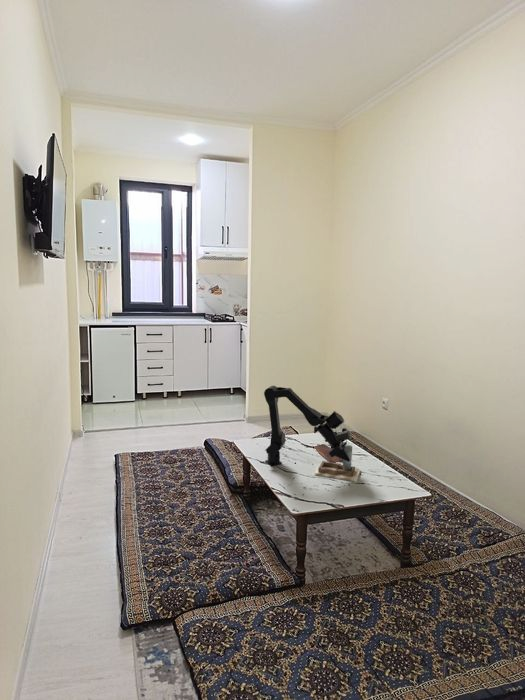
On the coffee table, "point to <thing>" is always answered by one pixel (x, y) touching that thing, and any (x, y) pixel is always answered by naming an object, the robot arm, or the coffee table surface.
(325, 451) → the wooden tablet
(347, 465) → the slate peg
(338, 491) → the coffee table surface
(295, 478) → the coffee table surface
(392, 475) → the coffee table surface
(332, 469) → the keyhole board
